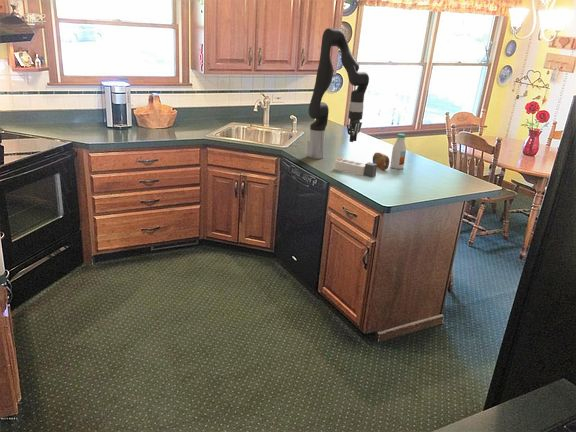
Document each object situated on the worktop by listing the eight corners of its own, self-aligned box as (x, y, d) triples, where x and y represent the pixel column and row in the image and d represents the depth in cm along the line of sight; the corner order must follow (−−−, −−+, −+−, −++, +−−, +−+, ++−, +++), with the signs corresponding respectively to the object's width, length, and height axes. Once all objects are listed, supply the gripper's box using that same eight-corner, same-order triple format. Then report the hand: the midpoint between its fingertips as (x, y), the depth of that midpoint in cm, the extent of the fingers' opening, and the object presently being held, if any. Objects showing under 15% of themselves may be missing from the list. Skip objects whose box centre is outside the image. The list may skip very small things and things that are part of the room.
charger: (359, 174, 278) (361, 162, 275) (363, 172, 281) (364, 161, 279) (372, 177, 274) (373, 165, 271) (375, 175, 277) (377, 164, 275)
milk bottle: (393, 169, 291) (398, 135, 284) (387, 165, 298) (392, 132, 291) (405, 169, 293) (410, 135, 286) (399, 165, 300) (404, 132, 293)
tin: (371, 164, 299) (373, 150, 296) (376, 164, 300) (377, 150, 297) (384, 171, 286) (386, 157, 283) (389, 171, 287) (391, 157, 284)
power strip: (334, 169, 285) (335, 159, 283) (340, 166, 290) (341, 157, 288) (362, 175, 276) (363, 166, 274) (368, 173, 281) (369, 163, 279)
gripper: (356, 107, 278) (352, 138, 285) (343, 110, 267) (340, 142, 274) (368, 109, 274) (364, 140, 281) (356, 112, 264) (352, 144, 270)
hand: (352, 141), depth 277 cm, fingers open, 3 cm apart
